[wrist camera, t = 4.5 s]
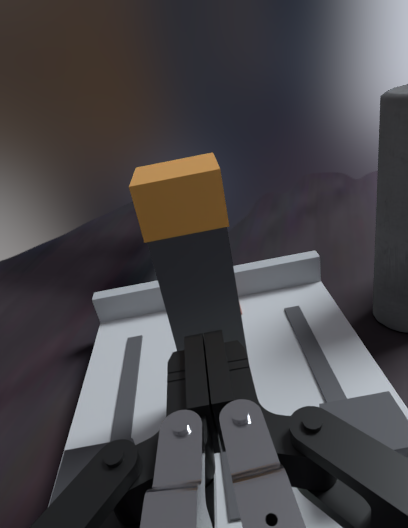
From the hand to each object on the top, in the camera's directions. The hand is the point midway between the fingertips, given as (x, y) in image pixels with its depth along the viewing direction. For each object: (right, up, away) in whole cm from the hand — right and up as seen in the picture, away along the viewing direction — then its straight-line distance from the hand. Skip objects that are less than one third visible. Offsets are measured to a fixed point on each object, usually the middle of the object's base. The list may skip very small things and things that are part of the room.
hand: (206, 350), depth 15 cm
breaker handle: (+1, -5, +8) cm, 10 cm away
